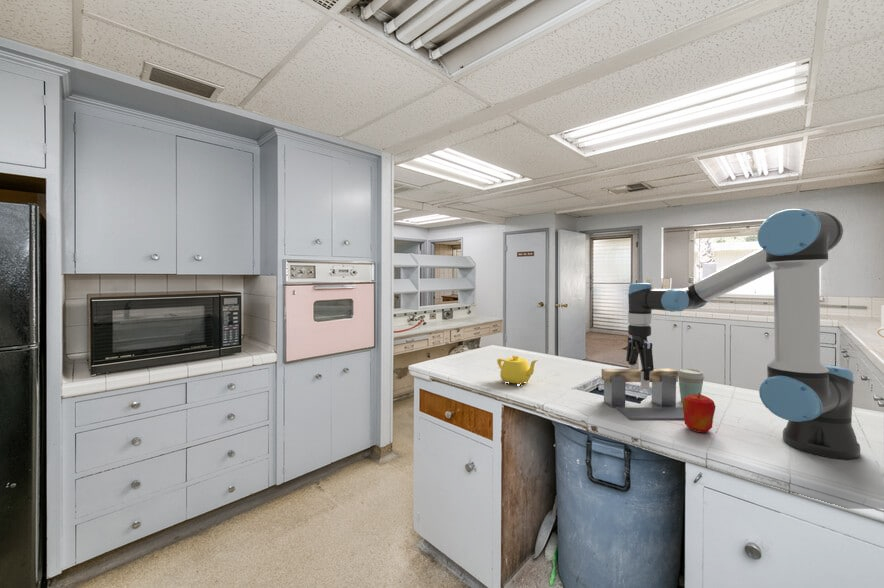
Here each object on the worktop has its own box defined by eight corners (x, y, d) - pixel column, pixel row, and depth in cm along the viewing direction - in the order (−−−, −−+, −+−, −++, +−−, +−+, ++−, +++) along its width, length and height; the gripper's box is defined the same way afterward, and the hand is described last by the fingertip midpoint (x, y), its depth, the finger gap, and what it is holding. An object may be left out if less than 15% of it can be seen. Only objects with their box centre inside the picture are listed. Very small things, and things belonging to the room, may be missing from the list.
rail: (671, 378, 139) (671, 368, 139) (677, 381, 135) (678, 371, 135) (601, 379, 140) (601, 368, 140) (605, 382, 136) (605, 371, 136)
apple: (685, 422, 121) (686, 386, 121) (717, 429, 115) (718, 392, 115) (678, 429, 115) (679, 392, 115) (711, 438, 109) (712, 398, 109)
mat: (703, 419, 123) (703, 418, 123) (630, 419, 124) (630, 418, 124) (685, 409, 133) (685, 407, 133) (617, 409, 134) (617, 407, 134)
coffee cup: (708, 407, 135) (709, 374, 134) (682, 405, 136) (683, 373, 136) (697, 399, 143) (698, 368, 142) (673, 398, 145) (673, 367, 144)
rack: (675, 407, 134) (676, 376, 134) (611, 407, 135) (611, 376, 135) (664, 401, 141) (665, 371, 141) (603, 401, 142) (603, 371, 142)
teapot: (532, 390, 157) (532, 361, 156) (490, 383, 169) (490, 356, 168) (544, 383, 167) (544, 355, 167) (504, 376, 179) (504, 351, 179)
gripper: (666, 328, 126) (665, 394, 127) (636, 321, 147) (635, 377, 148) (643, 328, 127) (642, 394, 128) (616, 321, 148) (616, 377, 149)
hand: (638, 384), depth 138 cm, fingers open, 8 cm apart
